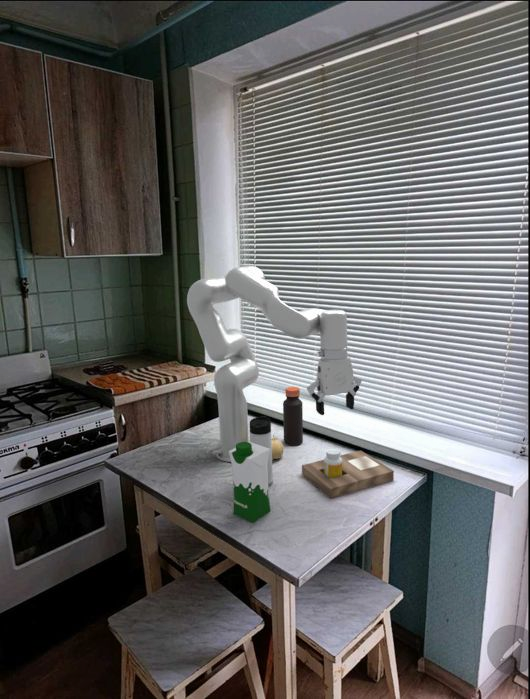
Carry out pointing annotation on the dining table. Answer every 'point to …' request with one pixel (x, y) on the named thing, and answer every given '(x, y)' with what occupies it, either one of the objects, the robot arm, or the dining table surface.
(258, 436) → the travel mug
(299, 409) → the vinegar
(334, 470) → the supplement bottle
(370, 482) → the socket board
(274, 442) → the onion
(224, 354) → the robot arm
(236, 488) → the milk carton
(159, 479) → the dining table surface
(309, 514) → the dining table surface
